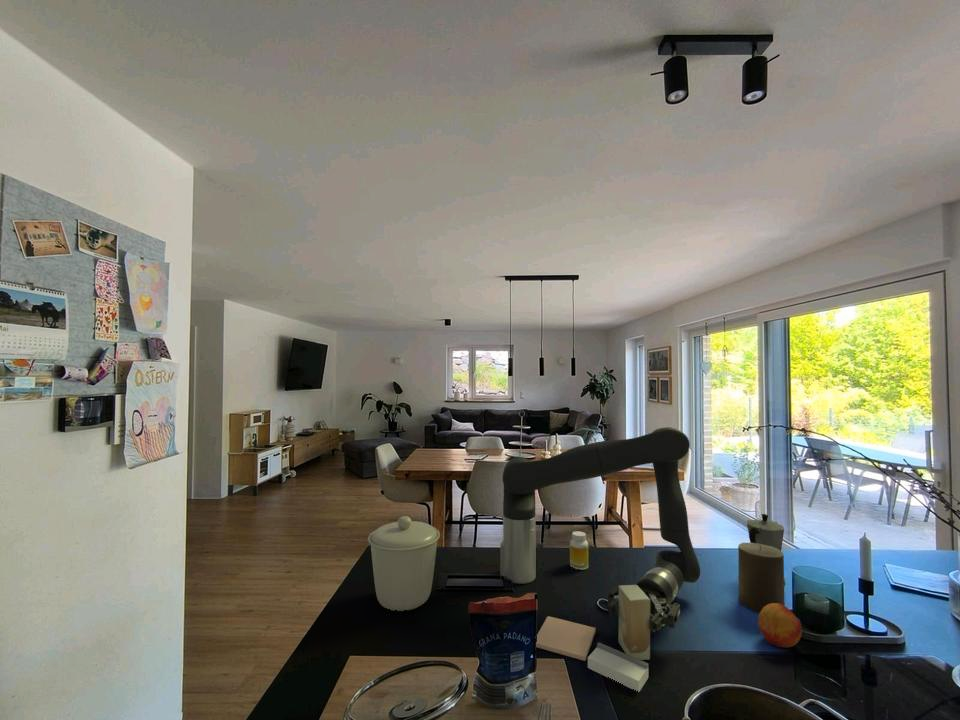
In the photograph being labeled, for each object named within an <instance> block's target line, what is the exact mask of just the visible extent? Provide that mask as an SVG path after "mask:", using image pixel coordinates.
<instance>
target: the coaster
mask: <svg viewBox="0 0 960 720" xmlns="http://www.w3.org/2000/svg"><path fill="white" fill-rule="evenodd" d="M595 635H596V627H593V626H588V625H585V624H582V623H577V622H573V621H569V620H566V619H562V618H558V617H553V616H549V615H547V617H546V618H545V620H544V622H543V624H542V625H541V627H540V629H539V630H538V633H537V634H536V636H537V642H536V647H535V648H537V649H542V650H546V651H549V652H552V653H556V654H559V655H563V656H567V657H570V658H573V659H577V660H580V661H583V662H586V660H587V659H588V654H589V652H590V649H591V646H592V643H593V640H594V637H595Z"/></svg>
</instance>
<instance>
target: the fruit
mask: <svg viewBox="0 0 960 720" xmlns="http://www.w3.org/2000/svg"><path fill="white" fill-rule="evenodd" d="M757 625H758V628H759V631H760V633H761V635H762V636H763V637H764V639H765V640H766V641H767V643H770V644H771V645H773V646H775V647H779V648H786V649H787V648H791V647H794V646H795V645H797V644H798V643H799V641H801V637H802V635H803V634H802V633H803V630H802V629H803V628H802V623H801V621H800V619H799V618H798V617H797V616H796V615H795V614H794V613H793V611H791V610H790V609H789V608H788V607H787V606H786V605H785V606H784V605H782V604H779V603H771V604H768V605H766V606H764V607H763V609H762V610H761V612H760V613H759V614H758V617H757Z"/></svg>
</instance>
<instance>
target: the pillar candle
mask: <svg viewBox="0 0 960 720" xmlns="http://www.w3.org/2000/svg"><path fill="white" fill-rule="evenodd" d="M737 546H738V547H737V548H738V549H737V550H738V553H737V554H738V562H737V563H738V577H737V578H738V588H737V589H738V591H737V592H738V594H737V595H738V600H739V602H740V603H741V604H742V606H744V607H745V608H747V609H749V610H751V611H753V612H757V613H759V614H760V612H761V610H762V609H763V607H764V606H766V605H768V604H771V603H779V604H782V605H784V606H786V605H785V604H786V603H785V601H786V600H785V584H784V579H785V561H784V559H785V558H784V553H783V551H782V550H781V551H780V550H778V549H777V548H774V547H771V546H767V545H763V544H758V543H750V542H741V543H739V544H738V545H737Z"/></svg>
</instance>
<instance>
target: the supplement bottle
mask: <svg viewBox="0 0 960 720" xmlns="http://www.w3.org/2000/svg"><path fill="white" fill-rule="evenodd" d="M571 535H572V536H571V537H572V539H571V540H570V541H569V566H570V567H571V568H572V567H573V568H572V569H574V568H575V569H574V570H578V569H579V570H581V571H583V570H587V569H589V542H588V541H587V537H586V536H587V535H586V533H585V532H583V531H572V533H571Z"/></svg>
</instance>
